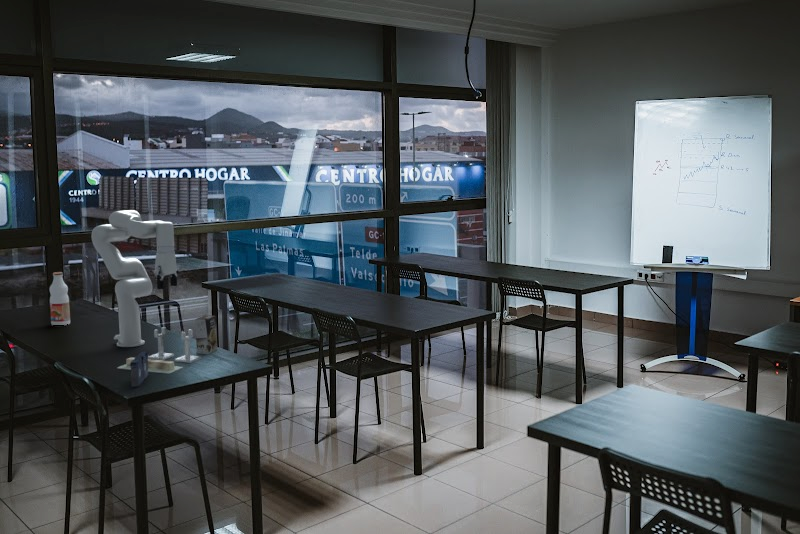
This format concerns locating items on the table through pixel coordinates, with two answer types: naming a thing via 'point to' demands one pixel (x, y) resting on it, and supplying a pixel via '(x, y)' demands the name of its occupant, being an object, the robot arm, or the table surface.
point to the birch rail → (155, 364)
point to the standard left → (160, 346)
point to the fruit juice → (59, 301)
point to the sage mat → (154, 369)
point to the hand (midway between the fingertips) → (167, 287)
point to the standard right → (187, 349)
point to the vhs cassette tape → (139, 369)
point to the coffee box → (206, 334)
